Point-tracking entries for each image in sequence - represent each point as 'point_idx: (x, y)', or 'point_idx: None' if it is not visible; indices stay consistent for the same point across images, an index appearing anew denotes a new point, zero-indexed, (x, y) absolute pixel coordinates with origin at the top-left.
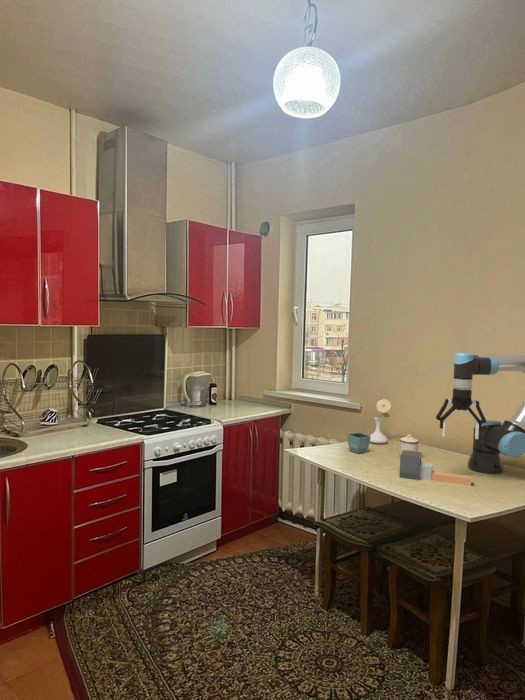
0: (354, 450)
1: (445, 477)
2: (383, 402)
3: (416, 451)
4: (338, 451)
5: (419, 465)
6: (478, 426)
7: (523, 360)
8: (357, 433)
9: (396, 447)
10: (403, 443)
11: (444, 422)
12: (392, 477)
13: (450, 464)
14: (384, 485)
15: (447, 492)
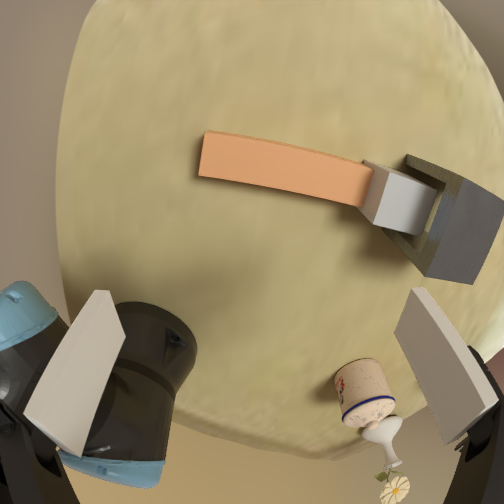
0: None
1: (316, 152)
2: (396, 497)
3: (347, 385)
4: (483, 344)
5: (430, 187)
6: (36, 390)
7: None
8: None
9: None
10: (390, 394)
11: (489, 397)
12: (469, 171)
13: (248, 356)
14: (491, 93)
15: (323, 28)
